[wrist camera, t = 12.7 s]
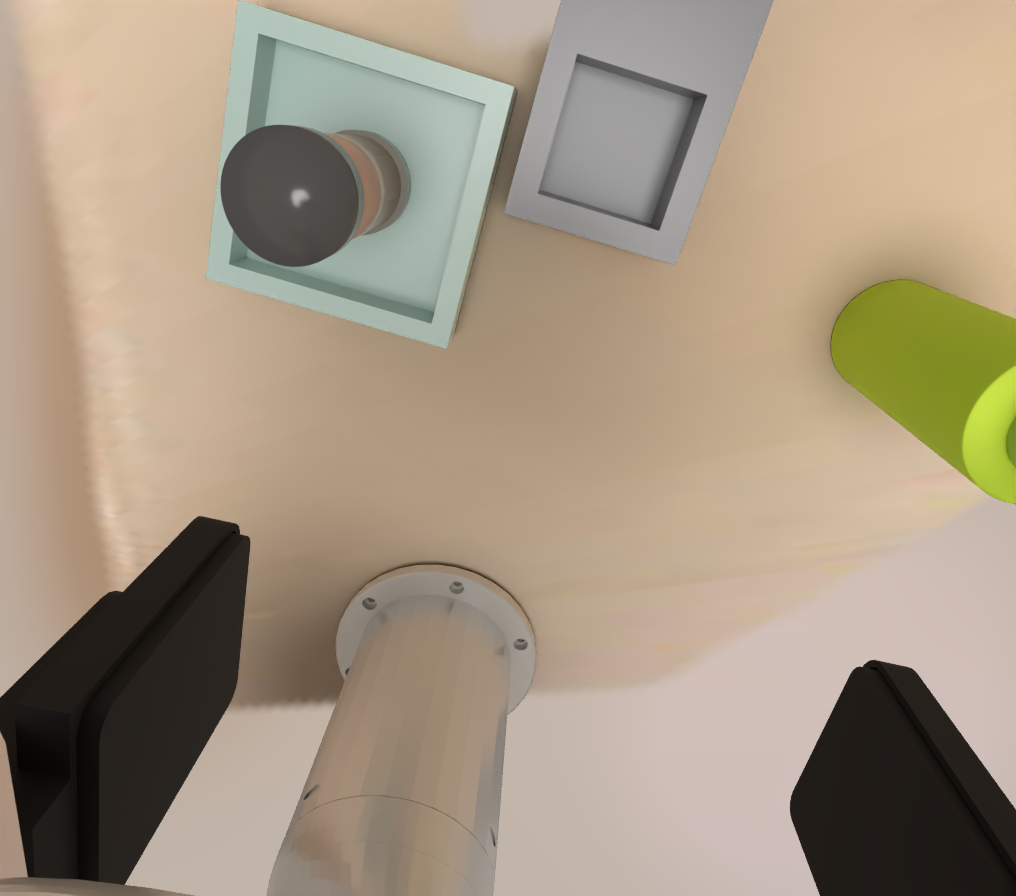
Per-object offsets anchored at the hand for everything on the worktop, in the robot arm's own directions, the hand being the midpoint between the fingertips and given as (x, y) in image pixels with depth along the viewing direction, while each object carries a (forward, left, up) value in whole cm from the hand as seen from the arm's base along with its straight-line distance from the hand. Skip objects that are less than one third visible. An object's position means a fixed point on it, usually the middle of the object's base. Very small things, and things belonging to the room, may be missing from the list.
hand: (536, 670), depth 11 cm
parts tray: (+3, +10, -29) cm, 31 cm away
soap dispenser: (+3, -18, -29) cm, 34 cm away
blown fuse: (+3, +10, -28) cm, 30 cm away
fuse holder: (+13, -1, -29) cm, 31 cm away
